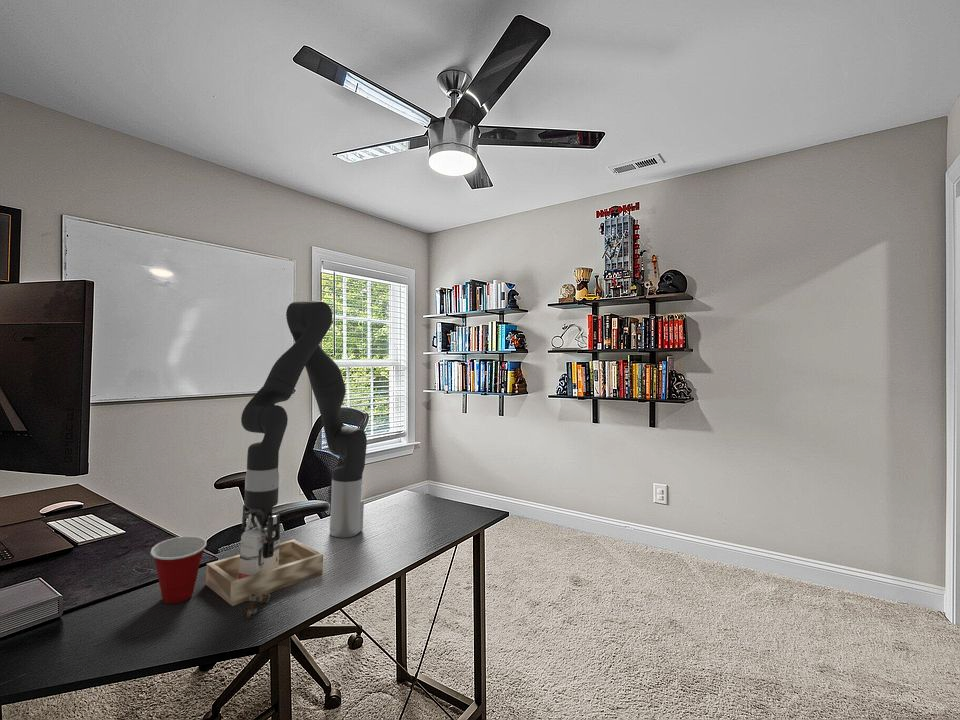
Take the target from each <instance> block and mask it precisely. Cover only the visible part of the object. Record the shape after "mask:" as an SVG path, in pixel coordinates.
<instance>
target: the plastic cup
mask: <svg viewBox="0 0 960 720" xmlns="http://www.w3.org/2000/svg"><path fill="white" fill-rule="evenodd" d="M206 547H207V539H205V538H204V537H200V536H197V535H195V536H194V535H185V536H179V537H178V536H177V537H172V538H169V539H165V540H163V541H160V542H159V543H156V544H155V545H154V546H152V548H151V551H150V555H151V556H152V557H153V560H154V564H155V566H156V573H157V579H158V585H159V588H160V596H161V599H162V601H163V603H166V604H177V603H182V602H185V601H187V600H189V599H190V598H191V597H193V594H194V589H195V586H196V582H197V578H198V577H197V576H198V573H199V570H200V569H199V568H200V564H201V560H202V556H203V553H204V550H205V548H206Z"/></svg>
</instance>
